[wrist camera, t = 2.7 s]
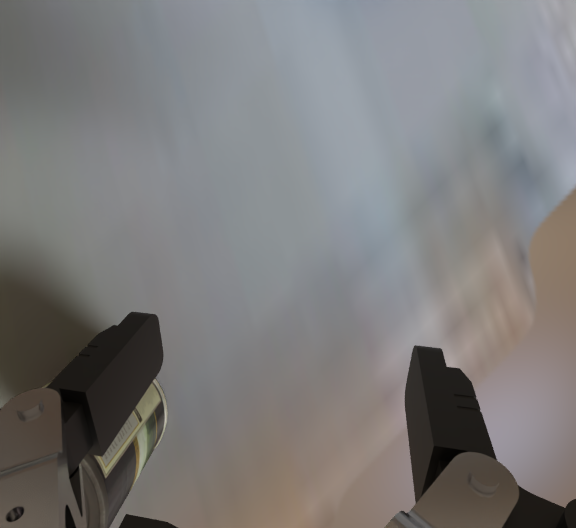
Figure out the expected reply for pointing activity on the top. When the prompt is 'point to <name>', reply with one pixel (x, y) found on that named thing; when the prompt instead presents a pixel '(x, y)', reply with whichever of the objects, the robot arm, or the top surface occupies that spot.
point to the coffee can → (123, 459)
